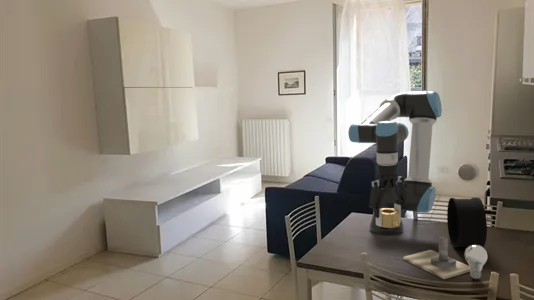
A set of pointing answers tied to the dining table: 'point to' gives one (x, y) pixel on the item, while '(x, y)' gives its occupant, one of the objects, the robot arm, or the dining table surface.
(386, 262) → the dining table surface
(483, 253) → the light bulb
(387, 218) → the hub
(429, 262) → the shaft stand
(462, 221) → the car wheel rim
